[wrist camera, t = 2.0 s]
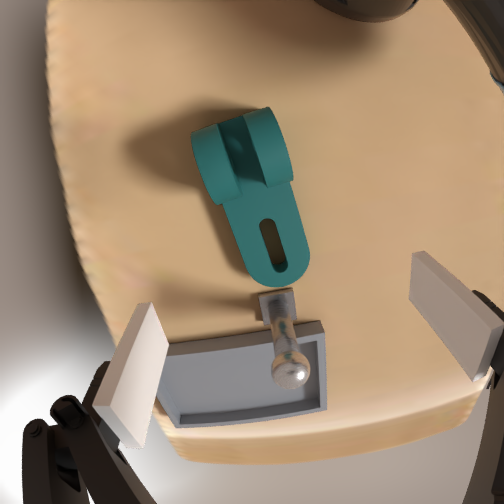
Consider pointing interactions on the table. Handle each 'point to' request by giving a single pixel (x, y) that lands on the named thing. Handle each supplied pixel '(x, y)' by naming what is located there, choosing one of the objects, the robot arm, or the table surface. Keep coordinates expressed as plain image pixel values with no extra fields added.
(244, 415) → the bin
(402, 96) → the table surface
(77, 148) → the table surface
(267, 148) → the bracket
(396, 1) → the robot arm
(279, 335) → the ball stud
